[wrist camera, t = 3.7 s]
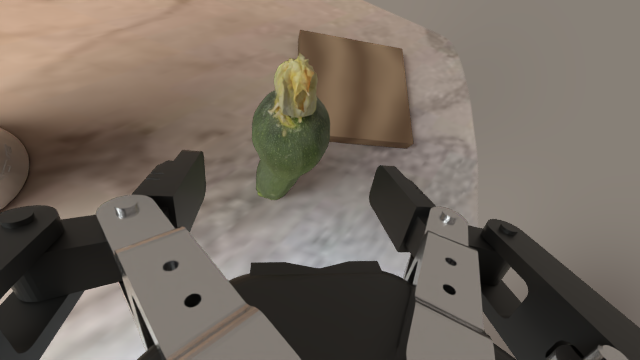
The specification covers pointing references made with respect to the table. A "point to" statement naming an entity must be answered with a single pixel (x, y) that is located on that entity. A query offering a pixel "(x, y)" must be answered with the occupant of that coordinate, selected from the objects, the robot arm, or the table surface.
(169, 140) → the table surface
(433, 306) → the robot arm
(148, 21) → the table surface
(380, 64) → the cutting board
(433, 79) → the table surface
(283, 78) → the vegetable
